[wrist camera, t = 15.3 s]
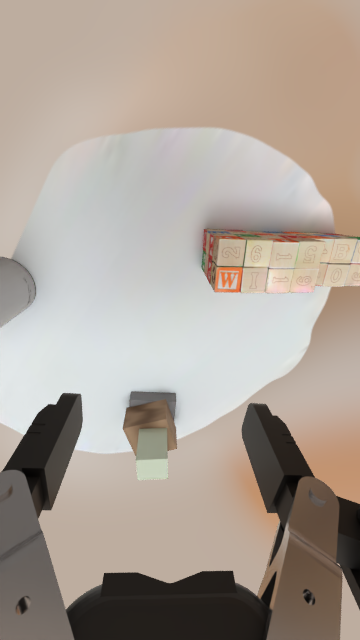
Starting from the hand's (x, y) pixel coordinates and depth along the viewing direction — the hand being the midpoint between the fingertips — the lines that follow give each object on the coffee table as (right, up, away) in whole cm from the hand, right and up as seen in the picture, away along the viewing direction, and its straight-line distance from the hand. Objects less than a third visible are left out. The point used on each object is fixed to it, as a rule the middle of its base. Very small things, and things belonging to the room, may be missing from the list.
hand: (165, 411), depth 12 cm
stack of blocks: (+15, +16, +28) cm, 36 cm away
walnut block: (-5, -15, +38) cm, 42 cm away
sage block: (-4, -17, +34) cm, 38 cm away
